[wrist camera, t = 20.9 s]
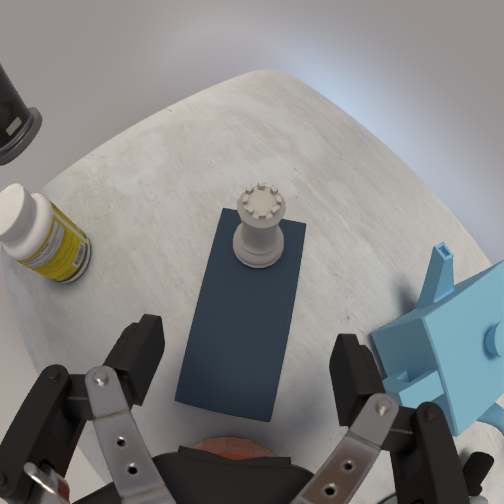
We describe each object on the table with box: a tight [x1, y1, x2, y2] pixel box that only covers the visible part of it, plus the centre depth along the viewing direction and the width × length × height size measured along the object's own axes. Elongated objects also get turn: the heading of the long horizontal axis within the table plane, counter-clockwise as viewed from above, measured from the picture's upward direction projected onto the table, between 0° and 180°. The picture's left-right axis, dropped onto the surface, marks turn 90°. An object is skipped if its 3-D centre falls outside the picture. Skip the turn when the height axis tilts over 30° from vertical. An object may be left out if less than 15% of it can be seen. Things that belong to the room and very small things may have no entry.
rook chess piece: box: [233, 183, 286, 268], centre depth 22 cm, size 4×4×8 cm
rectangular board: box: [175, 208, 306, 422], centre depth 24 cm, size 18×8×1 cm, turn 168°
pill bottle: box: [0, 184, 90, 283], centre depth 21 cm, size 6×6×11 cm
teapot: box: [371, 242, 504, 437], centre depth 17 cm, size 16×18×11 cm
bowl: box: [188, 436, 276, 460], centre depth 16 cm, size 10×10×5 cm
